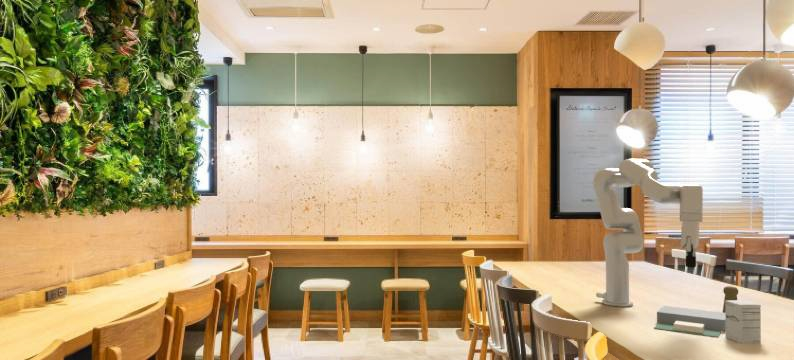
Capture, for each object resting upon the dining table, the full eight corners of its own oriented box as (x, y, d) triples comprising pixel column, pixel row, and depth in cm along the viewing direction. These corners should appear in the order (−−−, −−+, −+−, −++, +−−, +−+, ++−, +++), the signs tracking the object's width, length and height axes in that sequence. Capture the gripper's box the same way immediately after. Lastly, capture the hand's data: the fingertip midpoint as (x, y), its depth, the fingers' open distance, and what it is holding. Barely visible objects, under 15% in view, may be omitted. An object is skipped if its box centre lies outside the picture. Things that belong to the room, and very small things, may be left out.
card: (676, 320, 198) (676, 326, 197) (673, 323, 193) (673, 329, 193) (704, 324, 192) (704, 329, 192) (702, 327, 187) (702, 333, 187)
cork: (742, 315, 217) (742, 288, 217) (725, 315, 218) (725, 287, 218) (736, 312, 222) (735, 285, 223) (720, 312, 224) (719, 285, 224)
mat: (653, 328, 195) (653, 327, 195) (659, 323, 203) (659, 322, 203) (718, 337, 183) (718, 336, 183) (721, 331, 191) (721, 330, 191)
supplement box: (724, 337, 183) (724, 300, 183) (745, 337, 184) (744, 299, 184) (740, 343, 176) (739, 304, 176) (761, 343, 176) (761, 304, 177)
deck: (656, 322, 204) (656, 311, 204) (664, 315, 216) (664, 305, 216) (724, 331, 191) (724, 320, 191) (728, 324, 203) (728, 313, 203)
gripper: (683, 216, 211) (682, 263, 211) (676, 218, 199) (676, 268, 199) (705, 217, 207) (704, 265, 207) (699, 219, 195) (699, 270, 194)
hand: (690, 266), depth 203 cm, fingers closed
